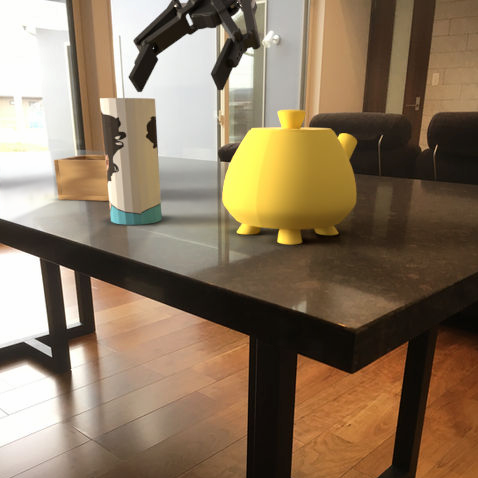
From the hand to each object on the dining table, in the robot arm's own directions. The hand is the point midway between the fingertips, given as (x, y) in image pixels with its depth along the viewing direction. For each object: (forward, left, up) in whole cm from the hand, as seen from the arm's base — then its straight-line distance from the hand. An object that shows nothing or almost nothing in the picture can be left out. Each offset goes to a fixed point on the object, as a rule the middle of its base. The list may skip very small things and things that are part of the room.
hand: (174, 83), depth 72 cm
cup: (-3, -10, -17) cm, 20 cm away
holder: (-16, +10, -17) cm, 26 cm away
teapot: (+19, -13, -17) cm, 28 cm away
